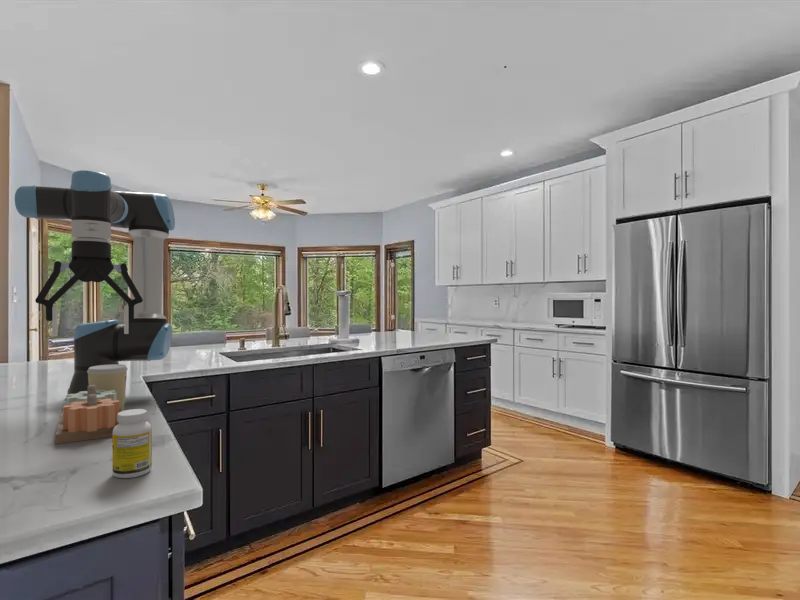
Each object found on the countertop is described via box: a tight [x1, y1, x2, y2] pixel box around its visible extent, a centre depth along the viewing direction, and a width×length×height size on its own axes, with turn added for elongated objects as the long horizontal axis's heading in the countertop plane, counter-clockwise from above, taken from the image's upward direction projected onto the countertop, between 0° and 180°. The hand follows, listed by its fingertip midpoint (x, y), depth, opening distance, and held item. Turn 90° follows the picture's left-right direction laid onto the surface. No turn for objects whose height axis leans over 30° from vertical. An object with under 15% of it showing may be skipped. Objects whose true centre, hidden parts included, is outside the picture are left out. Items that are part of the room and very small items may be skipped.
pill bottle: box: [111, 408, 153, 479], centre depth 86 cm, size 6×6×11 cm
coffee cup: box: [87, 364, 128, 411], centre depth 130 cm, size 9×9×12 cm
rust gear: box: [62, 398, 119, 432], centre depth 109 cm, size 11×11×5 cm
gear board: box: [55, 385, 123, 445], centre depth 113 cm, size 20×13×9 cm, turn 33°
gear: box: [65, 390, 117, 406], centre depth 118 cm, size 11×11×5 cm
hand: (91, 334), depth 108 cm, fingers open, 13 cm apart
